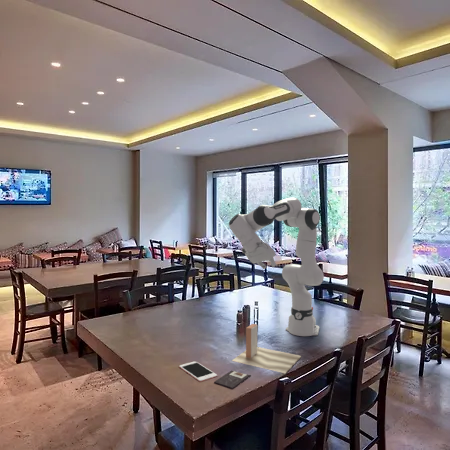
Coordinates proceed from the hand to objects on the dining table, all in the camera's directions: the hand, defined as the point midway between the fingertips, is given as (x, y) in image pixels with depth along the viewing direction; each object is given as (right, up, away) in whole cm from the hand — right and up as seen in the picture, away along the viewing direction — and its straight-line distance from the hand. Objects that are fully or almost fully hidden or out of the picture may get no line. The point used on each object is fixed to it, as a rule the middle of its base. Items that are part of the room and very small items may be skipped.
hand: (269, 267), depth 176 cm
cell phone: (-34, -44, -18) cm, 58 cm away
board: (-2, -43, -5) cm, 43 cm away
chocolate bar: (-17, -44, -24) cm, 53 cm away
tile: (-9, -42, -1) cm, 43 cm away
